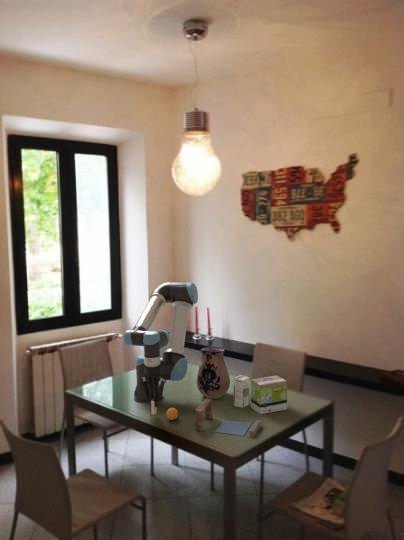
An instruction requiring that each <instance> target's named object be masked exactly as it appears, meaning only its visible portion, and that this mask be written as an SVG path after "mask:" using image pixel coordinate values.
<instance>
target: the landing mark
mask: <svg viewBox="0 0 404 540" xmlns="http://www.w3.org/2000/svg"><path fill="white" fill-rule="evenodd" d="M250 427H252V422H251V423H249V422H242V421H234V420H228V419H227V420H226V419H224V420H223V421H222V422H221V424H219V426H218V427H217V428H216V430H215V431H214V433H218V434H225V435H232V436H239V437H244V436H245V435H246V433H247V432H248V430H250V429H249V428H250Z"/></svg>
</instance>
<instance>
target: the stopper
mask: <svg viewBox="0 0 404 540" xmlns="http://www.w3.org/2000/svg"><path fill="white" fill-rule="evenodd" d="M261 426H262V421H261V420H260V419H256V420H255V422H254V423H253V424H252V425H251V428H250V429H249V432H248V436H249V437H250V438H254V437H256V435H257V433H258V431H259V429H261Z"/></svg>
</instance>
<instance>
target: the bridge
mask: <svg viewBox="0 0 404 540" xmlns="http://www.w3.org/2000/svg"><path fill="white" fill-rule="evenodd" d="M213 411H214V409H213V399H212V398H205V399H204V400H203V401H202V402H201V403H200V404H199V405H198V406H197V407H196V408H195V409H194V429H195V431H198V430H201V431H200V432H202V431H203V430H204V419H205V420H211V421H212V420H213V418H214V416H213ZM203 412H204V413H203ZM203 414H204V415H203ZM204 417H205V418H204ZM202 429H203V430H202Z"/></svg>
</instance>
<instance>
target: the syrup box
mask: <svg viewBox="0 0 404 540" xmlns="http://www.w3.org/2000/svg"><path fill="white" fill-rule="evenodd" d="M249 405H250V377H249V376H246V375H241V374H239V375H238V376H235V377H233V406H234V407H236V408H237V407H238V408H241V409H243V408H246V407H247V406H249Z"/></svg>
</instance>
